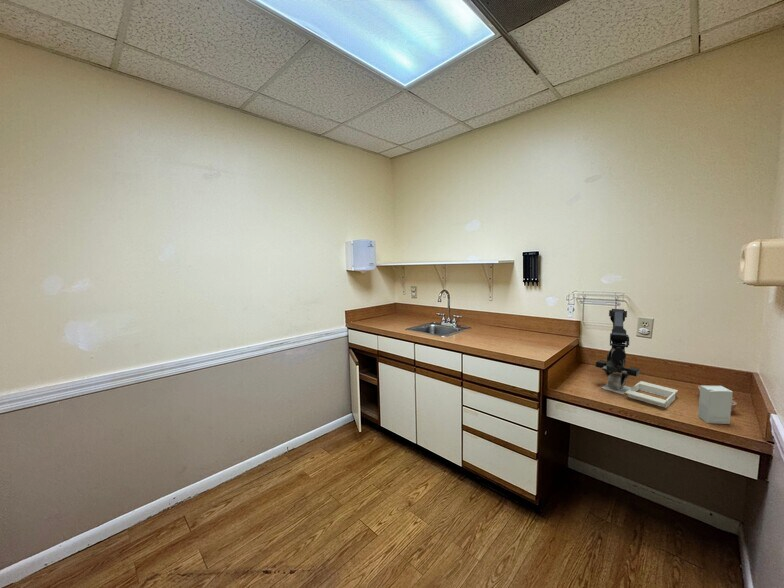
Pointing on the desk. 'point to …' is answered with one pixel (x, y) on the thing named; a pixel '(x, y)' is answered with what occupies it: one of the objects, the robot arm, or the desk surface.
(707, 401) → the skincare box
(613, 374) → the box
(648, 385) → the white shallow rectangular tray
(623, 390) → the mat
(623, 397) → the desk surface
